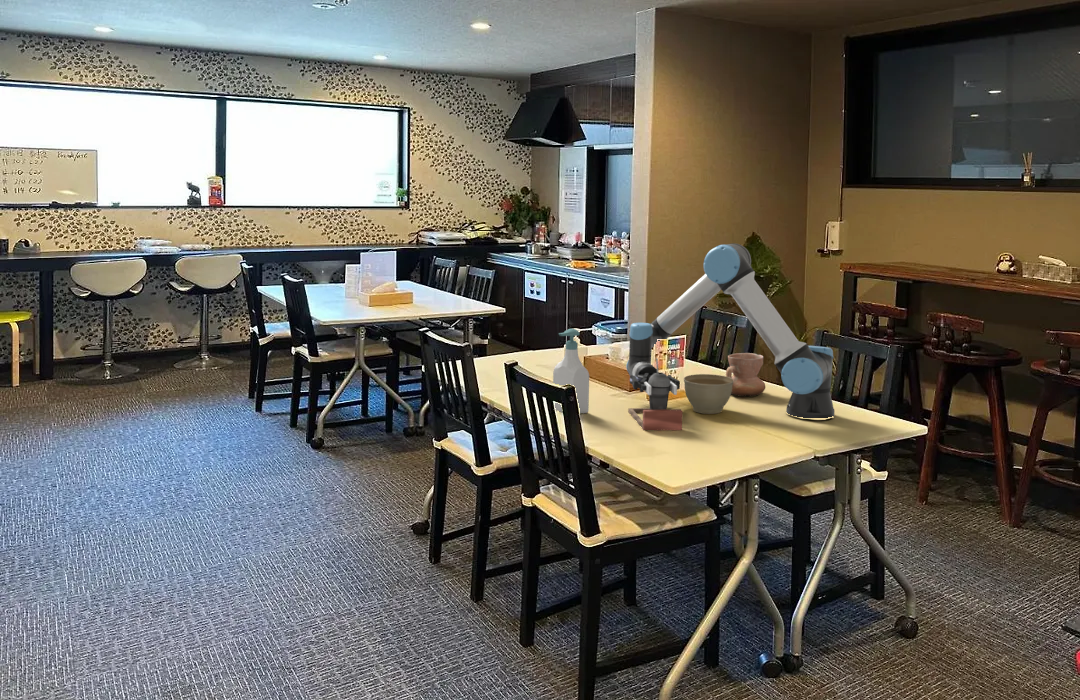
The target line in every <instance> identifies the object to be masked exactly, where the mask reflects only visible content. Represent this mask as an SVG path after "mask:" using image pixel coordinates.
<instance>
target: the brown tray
mask: <svg viewBox="0 0 1080 700" xmlns="http://www.w3.org/2000/svg"><path fill="white" fill-rule="evenodd" d="M627 410H628V413H629V415H630V414H631V415H632V416H631V415H630V416H631V417H632V418H633V420H634V421H635V420H636V421H637V422H636V421H635V422H636V423H637V425H638V426H639V427H640V426H641V427H642V428H641V427H640V428H641V429H642V431H644V430H654V431H682V430H683V414H684V413H683V410H682V409H675V408H674V409H667V410H650V407H647V408H646V407H638V408H637V407H635V408H632V407H631V408H628V409H627ZM641 413H642V418H641V417H640V416H639V414H641Z"/></svg>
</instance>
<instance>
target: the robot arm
mask: <svg viewBox="0 0 1080 700" xmlns="http://www.w3.org/2000/svg"><path fill="white" fill-rule="evenodd" d="M703 271H704V274H703V275H702V276H701V277H700V278H699V279H698V280H697V281H695V283H694V284H692V285H691V286H690V287H689V288H688V289H687V290H686V291H684V293H683V294H681V296H679V297H678V298H677V299H676V300H675V301H673V303H671V304H670V305H669V306H668V307H667V308H666V309H664V311H663V312H662V313H661V314H660V315H658V316H657V317H656V318H655V319H654V320H653V321H652V322H651V323H648V322H633V323H631V324H630V326H629V344H628V345H629V349H628V350H629V351H628V352H629V353H628V360H627V362H626V367H625V368H626V371H627V373H628V375H629V383H630V384H631V386H632V388H633V390H638V389H639V392H640V393H644V392H645V393H646V394H647V395H648V396H649V395H651V386H650V385H649V384H648V381H649V378H650V377H651V376H652V375H653V374H655V373H657V367H655V366H654V365H653V364H652V348H654V344H656V342H657V339H667V340H668V338H669V337H670V336H671V335H672V334H673V333H674V332H675V331H676V330H678V329H679V328H680V327H681V325H683V324H684V323H685V322H686V321H688V319H690V318H691V317H693V315H694V314H695V313H697V312H698V311H699V310H700V309H701V308H702V307H703V306H704V305H706V303H708V302H709V301H710V300H712V298H714V297H715V296H716V295H717V294H718V293H719V292H720V291H722V292H723V294H725V295H730V296H731V297H732V298H733V299H734V301H735V302H736V304H737V305H738V307H739V308H740V309H741V311H742V312H743V314H744V315H745V316H746V318H747V320H748V321H749V322H750V324H751V325H752V327H753V328H754V329H755V330H756V332H757V333H758V334H759V337H760V338H761V339H762V341H763V342H764V343H765V345H766V346H767V347H768V348H769V350H770V351H771V353H772V354H773V356H774V362H773V363H774V365H775V367H776V369H777V370H778V371H779V372H780V374H781V376H780V378H781V381H782V384H783V386H784V387H785V388H786V389H787V390H789V391H790V392H791V396H790V398H789V401H788V403H787V405H786V411H785V413H786V412H787V413H788V414H790V415H793V416H797V417H803V418H828V417H832V416H834V417H835V408H834V403H833V400H832V396H831V389H832V387H831V384H832V376H833V375H832V373H833V359H834V351H833V349H832V348H831V347H826V346H819V345H818V346H817V345H816V346H815V345H808V343H806V342H803V341H799V339H797V337H796V336H795V334H794V332H793V331H792V330H791V328H790V327H789V326H788V324H787V323H786V322H785V320H784V319H783V317H782V316H781V314H780V313H779V312H778V310H777V308H775V306H774V305H773V303H771V300H770V299H769V298H768V296H767V295H766V294H765V292H764V291H763V290H762V288H761V287H760V286H759V284H758V283H757V282H756V280H755V274H756V272H755V270H754V269H753V267H752V258H751V254H750V251H749V250H748V249H747V248H746V247H745V246H743V245H742V244H739V243H728V244H719V245H717V246H715V247H713V248H712V249H710V250H709V251H708V252H707V254H705V257H704V260H703ZM658 341H660V340H658ZM667 376H668V378H669V380H670V385H671V387H670V392H671V393H672V394H673V395H675V396H677V393H678V390H680V386H681V381H680V380H679V379H677V378H675V377H673V376H672V374H671V375H670V374H667Z"/></svg>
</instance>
